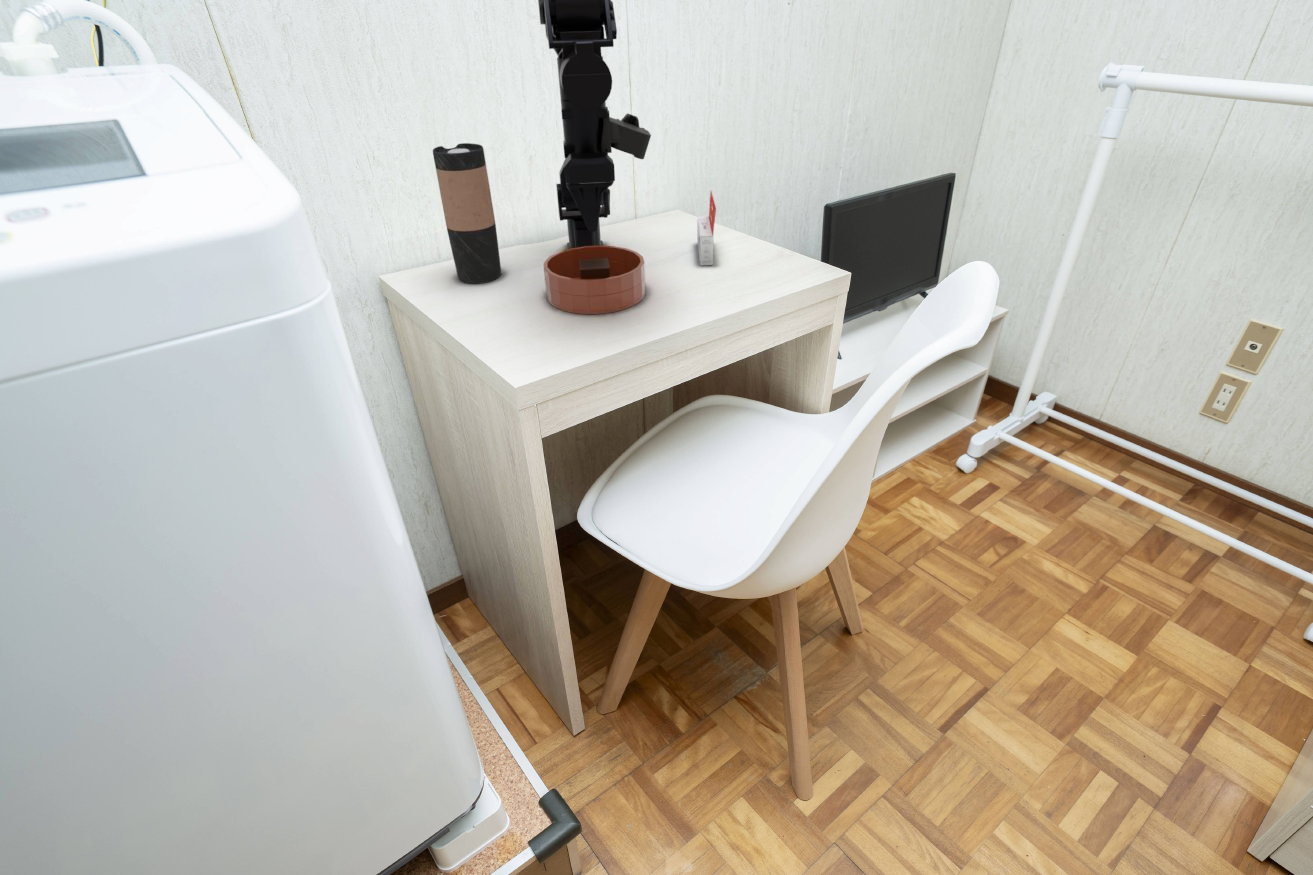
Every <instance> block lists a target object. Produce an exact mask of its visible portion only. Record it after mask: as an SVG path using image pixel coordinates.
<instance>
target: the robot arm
mask: <svg viewBox="0 0 1313 875" xmlns="http://www.w3.org/2000/svg"><path fill="white" fill-rule="evenodd" d="M537 3H538V12H539V13H538V14H539V23H540V25H544V28H545V37H546V39H547V45H548V49H549V50H553V51H554V52H555V54H556V56H557V58H556V63H557V72H558V74H557V75H558V84H559V96H560V108H561V110H560V111H561V120H562V129H563V130H562V131H563V142H562V143H563V155H564V161H563V164H562V165H561V167H560V170H559V171H558V172H559V173H558V174H559V183H556V197H557V207H558V217H559V221H565V220H566V223H567V224H566V225H567V232H568V242H567V243H566V245H567V246H566V247H567V248H566V250H567V249H571V248H577V247H583V246H597V245H602V246H604V242H603V240H601V226H600V224H601V223H600V219H601V218H604V219H606V218H608V216H610V215H611V189H609V188H610V187H612V186H613V184H614V183H615V181H616V176H615V175H616V173H615V171H616V170H615V164H614V163H615V162H614V160H613V158H611V156H610V155H609V154H611V153H612V149H614V150H618V151H620V152H623V153H625V154H629V155H632V156H633V157H634V158H636V159H638V160H645V157H646V154H647V151H648V147H649V144H650V141H651V138H652V137H651V136H652V134H651V133H650V131H649V130H648V129H646V128H644V127H641V126H640V122H639V117H638V116H636V115H633V114H632V113H631V114H630V113H626V114H625V115H624V116H623V118H621V120H620V119H619V118H614V117H611V116H610V110H609V108H608V106H607V105H606V104H607V102H606V101H607V100H608V98H609V96H610V95H611V93H612V92H611V91H612V88H613V76H612V72H611V70H610V68H609V66H608V64H607V63H606V62H605V61H604V56H603V55H602V48H614V40H617V35H618V28H617V23H616V15H615V8H614V2H613V1H612V0H537Z"/></svg>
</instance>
